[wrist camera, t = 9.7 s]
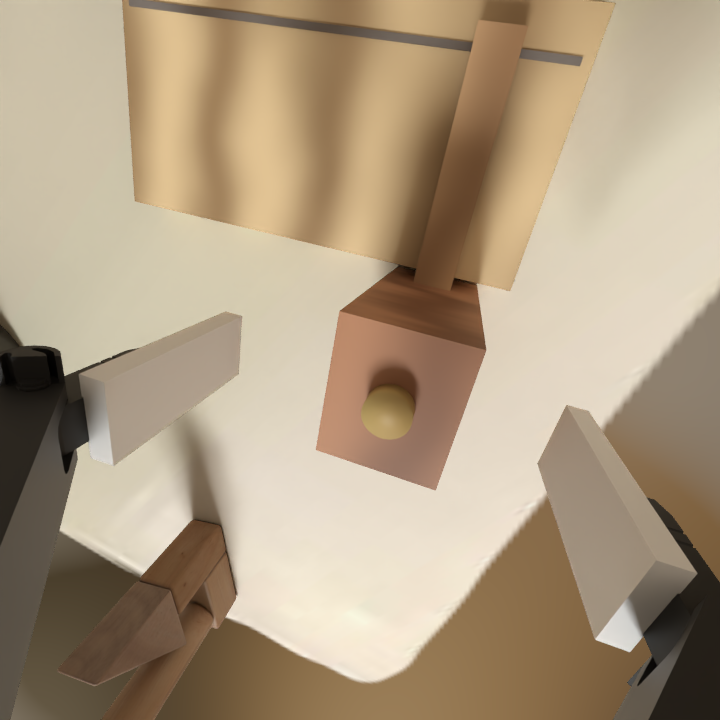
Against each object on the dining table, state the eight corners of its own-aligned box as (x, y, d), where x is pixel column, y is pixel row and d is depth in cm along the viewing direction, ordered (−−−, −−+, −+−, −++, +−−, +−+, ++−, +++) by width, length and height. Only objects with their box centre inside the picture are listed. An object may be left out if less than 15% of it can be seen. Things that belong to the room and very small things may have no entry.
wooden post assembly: (222, 524, 37) (33, 762, 21) (238, 597, 41) (89, 846, 25) (191, 517, 38) (-12, 741, 22) (210, 590, 42) (49, 824, 26)
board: (163, 202, 26) (133, 201, 24) (156, -21, 21) (117, -51, 19) (505, 283, 22) (510, 291, 20) (595, 31, 17) (616, 1, 15)
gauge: (378, 351, 26) (308, 461, 14) (447, 52, 19) (416, -204, 7) (448, 371, 25) (433, 505, 13) (547, 66, 18) (692, -200, 6)
